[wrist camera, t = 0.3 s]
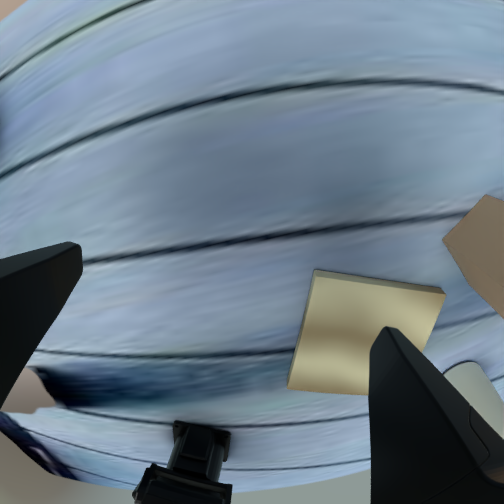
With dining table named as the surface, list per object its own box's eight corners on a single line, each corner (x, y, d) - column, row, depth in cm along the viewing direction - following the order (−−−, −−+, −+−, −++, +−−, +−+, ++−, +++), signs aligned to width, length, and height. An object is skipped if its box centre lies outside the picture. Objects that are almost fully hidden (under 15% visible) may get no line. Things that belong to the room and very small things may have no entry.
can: (488, 357, 24) (539, 435, 13) (465, 400, 26) (501, 477, 15) (443, 361, 24) (491, 454, 13) (420, 406, 27) (451, 495, 15)
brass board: (396, 387, 26) (399, 395, 25) (286, 379, 26) (286, 389, 25) (440, 288, 22) (446, 294, 21) (314, 269, 22) (315, 276, 21)
